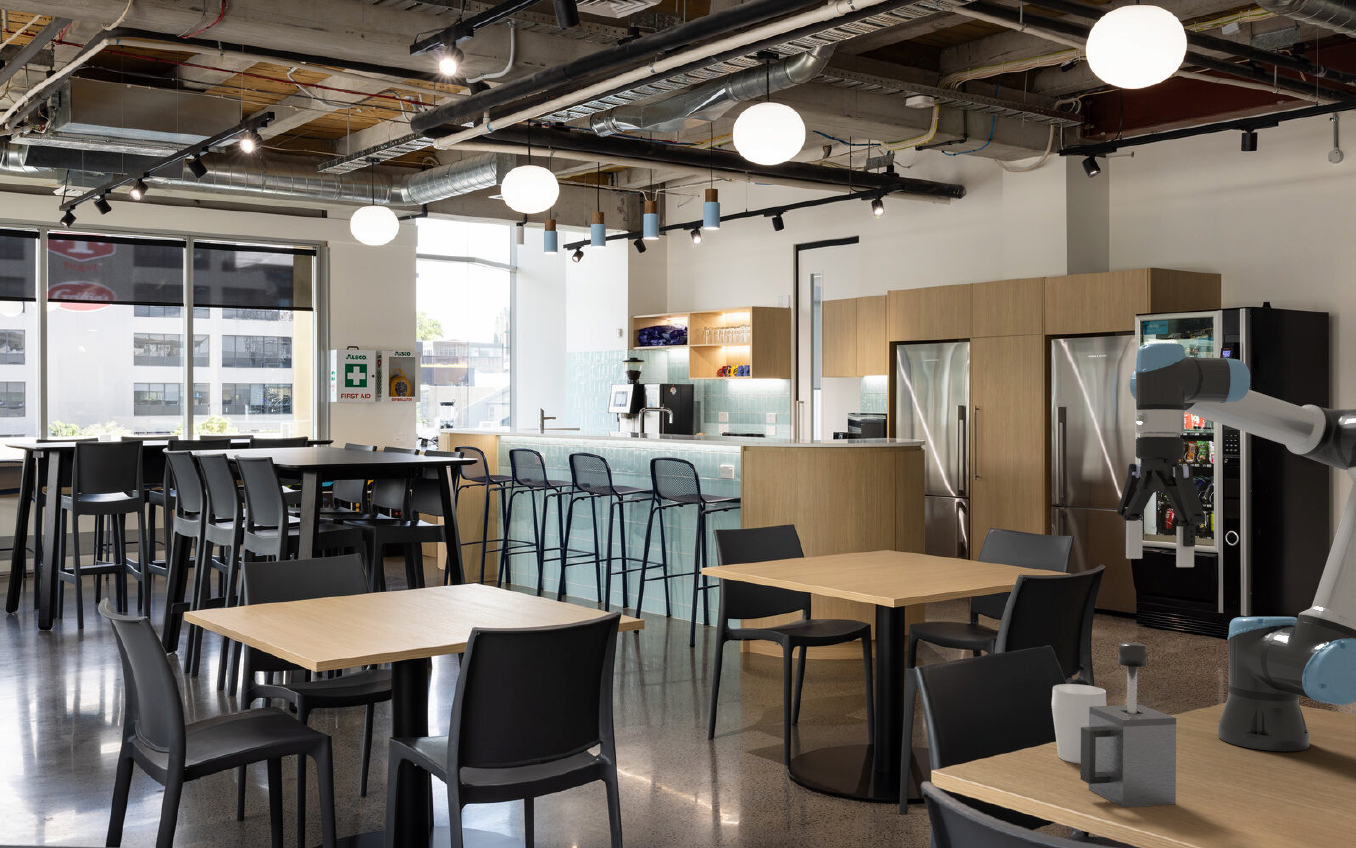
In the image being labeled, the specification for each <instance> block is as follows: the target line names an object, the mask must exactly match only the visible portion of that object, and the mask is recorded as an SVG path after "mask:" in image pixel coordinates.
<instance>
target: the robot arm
mask: <svg viewBox="0 0 1356 848" xmlns="http://www.w3.org/2000/svg"><path fill="white" fill-rule="evenodd" d="M1185 352H1186V351H1185V346H1184V345H1183V344H1181V343H1176V342H1175V343H1173V342H1165V343H1163V342H1159V343H1157V342H1155V343H1147V344H1143V345H1141V346H1140V347H1138V349H1137V353H1136V359H1135V360H1136V361H1135V369H1134V370H1133V372H1132V374H1131V377H1130V379H1129V391H1130V393H1131V396H1132V397H1133V398H1134V400H1135V409H1136V410H1135V411H1136V413H1135V415H1136V417H1135V419H1136V420H1135V433H1137V434H1139V437H1138V436H1137V437H1136V438H1135V457H1136V459H1138V460H1141V463H1129V465H1128V471H1127V476H1126V477H1127V478H1126V482H1125V484H1124V488H1123V491H1122V494H1121V497H1120V500H1119V503H1118V507H1117V510H1116V515H1117V516H1119V517H1122V518H1123V520H1124V521H1125V522H1124V523H1125V526H1124V527H1125V531H1124V533H1125V534H1124V535H1125V559H1128V560H1132V559H1133V560H1135V559H1138V560H1139V559H1140V560H1141V559H1143V537H1144V536H1143V535H1144V534H1143V533H1144V531H1143V529H1144V528H1143V527H1144V525H1143V524H1144V523H1143V517H1142V515H1143V513H1144V511H1145V509H1146V508H1147V506H1148V504H1149V502H1150V500H1151V498H1152V496H1153V495H1154V493H1157V492H1160V493H1161V494H1163V495H1165V497H1166V499H1167V501H1168V503H1169V505H1170V506H1171V508H1172V512H1174V515H1175V516H1176V518H1177V520H1178V523H1177V524H1176V542H1175V543H1176V546H1175V547H1176V550H1175V552H1176V555H1175V556H1176V557H1175V559H1176V561H1175V565H1176V566H1175V567H1176V568H1194V567H1195V547H1196V530H1197V529H1196V528H1197V526H1199V525H1201V524H1205V523H1206V521H1207V520H1206V519H1207V518H1206V515H1205V513H1204V510H1203V505H1202V503H1201V499H1200V496H1199V493H1198V490H1197V487H1196V484H1195V481H1194V471H1193V466H1192V465H1189V464H1187V465H1185V464H1179V460H1183V459H1184V456H1185V439H1183V437H1181V435H1184V434H1185V432H1186V431H1185V413H1187V414H1189V415H1192V416H1196V417H1197V418H1202V419H1205V420H1208V421H1212V422H1214V423H1217V424H1220V425H1223V426H1227V427H1230V428H1233V429H1236V430H1239V431H1242V432H1246V433H1248V434H1251V435H1254V436H1258V437H1260V438H1263V439H1267V440H1270V441H1272V442H1276V443H1278V444H1283V445H1285V446H1286V449H1287V450H1288V451H1290V453H1293V454H1295V455H1298V456H1302V457H1304V458H1306V459H1307V458H1308V459H1310V460H1313V461H1316V462H1319V463H1321V464H1324V465H1328V466H1330V467H1333V468H1337V469H1340V470H1343V471H1346V473H1347V475H1348V476H1349V477H1350V479H1351V481H1352V486H1351V489H1350V491H1349V495H1348V497H1347V501H1346V503H1345V506H1344V509H1343V513H1342V516H1341V518H1340V521H1339V525H1338V527H1337V531H1336V534H1335V536H1334V539H1333V542H1332V545H1331V548H1330V551H1329V553H1328V557H1327V560H1326V562H1325V566H1324V569H1323V573H1322V574H1321V578H1320V580H1319V584H1318V588H1317V590H1316V593H1315V596H1314V600H1313V602H1312V605H1311V607H1310V608H1309V609H1305V610H1304V611H1301V612H1299V613H1298V616H1297V617H1294V616H1239V617H1234V618H1233V619H1231V621H1230V623H1229V625H1228V626H1229V628H1228V636H1227V646H1228V647H1227V653H1228V655H1227V656H1228V659H1227V660H1228V661H1227V662H1228V666H1227V668H1228V669H1227V671H1228V674H1227V675H1228V680H1227V681H1228V691H1227V692H1228V696H1227V699H1226V702H1225V704H1224V708H1223V710H1222V714H1221V717H1220V720H1219V721H1218V723H1217V737H1218V738H1219V739H1220V740H1222V741H1223V742H1226V743H1228V744H1232V745H1235V746H1239V747H1244V748H1249V749H1255V750H1262V751H1271V752H1299V751H1301V752H1302V751H1305V750H1308V749H1309V748H1310V732H1309V730H1308V729H1307V725H1306V721H1305V717H1304V714H1303V711H1302V708H1301V706H1300V701H1299V700H1300V699H1299V697H1300V696H1301V697H1305V698H1308V699H1311V700H1313V701H1315V702H1318V703H1320V704H1330V705H1331V704H1332V705H1337V706H1347V705H1352V704H1354V703H1355V702H1356V408H1355V409H1354V408H1353V409H1351V408H1350V409H1346V408H1345V409H1343V408H1342V409H1335V408H1334V409H1333V408H1326V407H1320V406H1317V405H1314V404H1304V405H1302V406H1299V405H1296V404H1294V403H1290V402H1288V401H1285V400H1282V399H1279V398H1275V397H1273V396H1269V395H1266V394H1263V393H1261V392H1257V391H1254V390H1251V389H1250V387H1251V373H1250V369H1249V368H1248V366H1247V364H1246V363H1245V362H1243V361H1242V360H1240V359H1236V358H1228V357H1192V356H1190V357H1189V356H1187V354H1186V353H1185Z"/></svg>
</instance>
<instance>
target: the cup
mask: <svg viewBox="0 0 1356 848" xmlns="http://www.w3.org/2000/svg"><path fill="white" fill-rule="evenodd" d="M1092 706H1108V704H1107V692H1106V689H1104V688H1102V687H1098V686H1092V685H1089V684H1088V685H1086V684H1078V683H1077V684H1076V683H1075V684H1074V683H1073V684H1072V683H1065V684H1064V683H1063V684H1056V685H1053V686H1052V697H1051V709H1052V710H1051V711H1052V718H1053V719H1052V720H1053V725H1054V733H1055V740H1056V748H1057V755H1058V758H1059V759H1061V760H1062V761H1065V762H1067V763H1071V764H1079V765H1081V727H1089V707H1092Z"/></svg>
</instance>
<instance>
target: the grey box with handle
mask: <svg viewBox="0 0 1356 848" xmlns="http://www.w3.org/2000/svg"><path fill="white" fill-rule="evenodd" d="M1080 780H1081V781H1082V782H1085V783H1086V784H1088V791H1091V792H1092V793H1095V794H1096V795H1098V796H1101V797H1102V798H1104V799H1106V800H1108V801H1109V802H1112V803H1113V804H1115V805H1117V806H1119V807H1121V808H1133V807H1134V808H1135V807H1150V806H1151V807H1152V806H1164V805H1166V806H1167V805H1176V802H1177V800H1176V798H1177V796H1176V795H1177V717H1175V716H1173V715H1170V714H1166V713H1164V712H1161V711H1159V710H1156V709H1152V708H1150V707H1148V706H1145V705H1141V704H1137V714H1127V704H1123V705H1122V704H1121V705H1107V706H1092V707H1089V727H1081V764H1080Z"/></svg>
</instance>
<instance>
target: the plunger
mask: <svg viewBox="0 0 1356 848" xmlns="http://www.w3.org/2000/svg"><path fill="white" fill-rule="evenodd" d="M1118 665H1121V666H1126V667H1127V672H1126V673H1127V674H1126V675H1127V679H1126V680H1127V681H1126V683H1127V685H1126V687H1127V688H1126V689H1127V691H1126V692H1127V693H1126V699H1127V700H1126V705H1127V714H1137V705H1138V668H1139V667H1142V668H1143V667H1146V666H1147V645H1146V644H1143V643H1138V642H1119V643H1118Z"/></svg>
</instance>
